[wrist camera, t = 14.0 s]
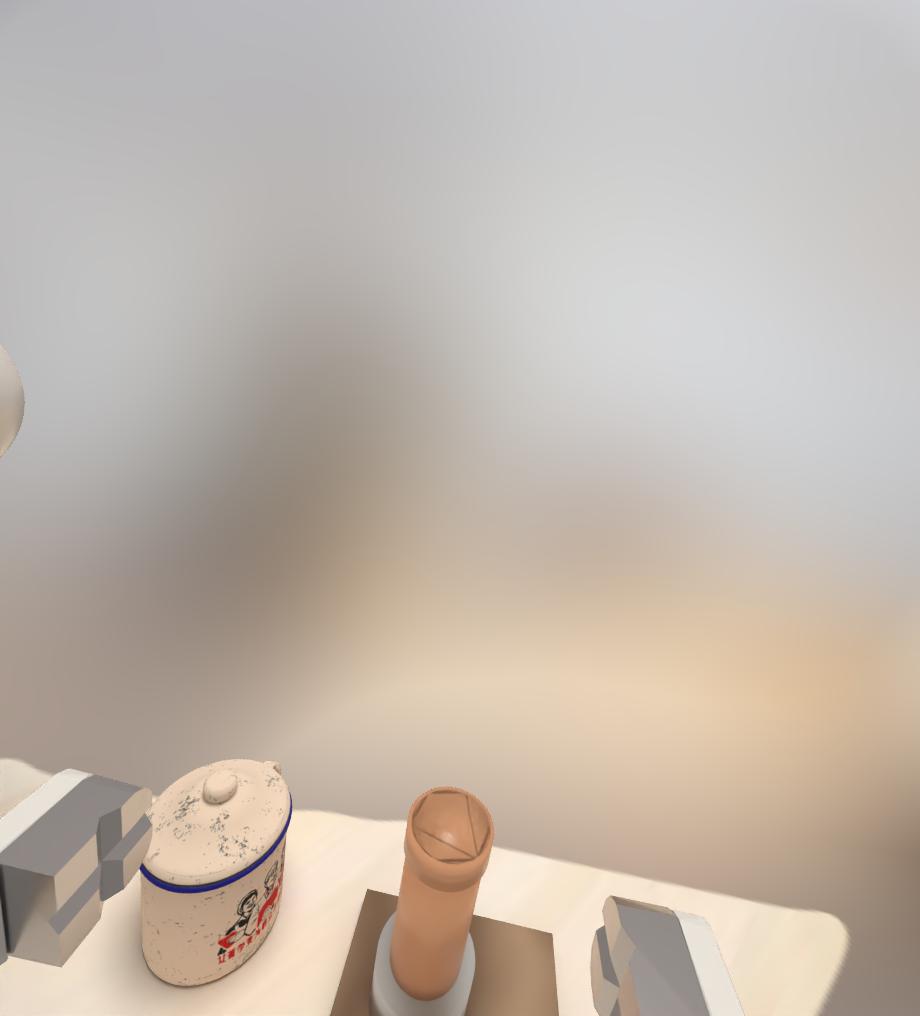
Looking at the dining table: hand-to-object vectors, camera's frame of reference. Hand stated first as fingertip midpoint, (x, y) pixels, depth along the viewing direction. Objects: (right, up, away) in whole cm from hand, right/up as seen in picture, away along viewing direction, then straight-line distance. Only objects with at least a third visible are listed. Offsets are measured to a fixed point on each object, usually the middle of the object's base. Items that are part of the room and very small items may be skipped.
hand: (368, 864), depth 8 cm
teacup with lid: (-16, -22, +26) cm, 38 cm away
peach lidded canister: (0, -21, +20) cm, 29 cm away
